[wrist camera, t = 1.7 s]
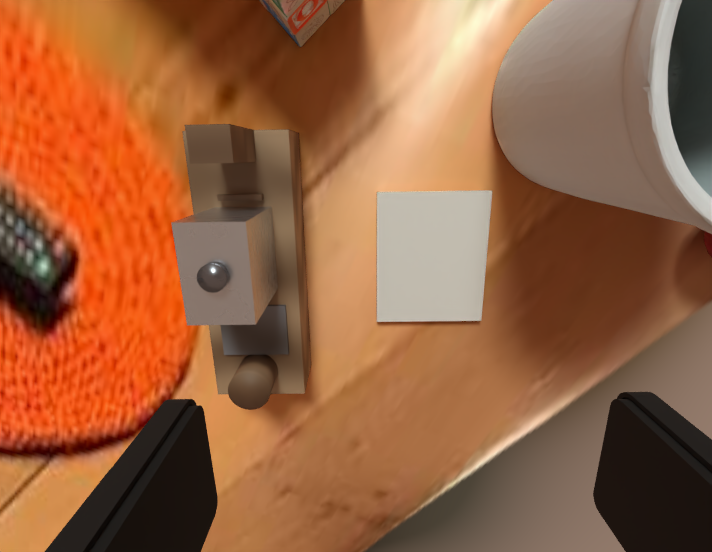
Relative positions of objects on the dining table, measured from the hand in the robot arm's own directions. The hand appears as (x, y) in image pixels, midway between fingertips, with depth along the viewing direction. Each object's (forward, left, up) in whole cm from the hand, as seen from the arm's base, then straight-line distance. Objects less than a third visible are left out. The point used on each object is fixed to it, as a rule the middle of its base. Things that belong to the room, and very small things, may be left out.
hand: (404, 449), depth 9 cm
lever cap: (0, -9, -20) cm, 22 cm away
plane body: (+2, -9, -24) cm, 26 cm away
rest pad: (+2, +5, -24) cm, 25 cm away
